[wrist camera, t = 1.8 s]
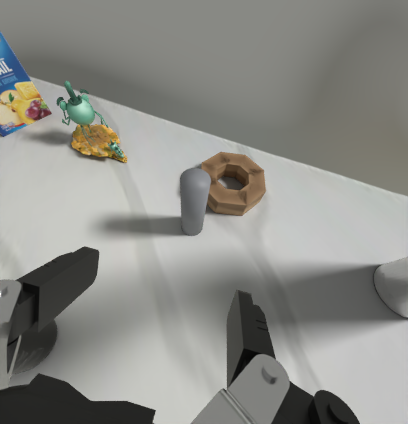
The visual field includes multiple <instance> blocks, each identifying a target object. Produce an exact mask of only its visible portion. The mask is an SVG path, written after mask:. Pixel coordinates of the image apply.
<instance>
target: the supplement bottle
mask: <svg viewBox="0 0 408 424" xmlns="http://www.w3.org/2000/svg"><path fill="white" fill-rule="evenodd" d="M56 337H57V325H56V323H55V321H54V319H53V320H52V321H51V322H50V323H48V324H47V325H46V326H45V327H44V328H43V329H42V330H41V331H40V332H38V333H37V332H34V331H31V330H28V329H27V330H26V331H25V332H24V333H22V334H21V341H20V345H19V349H18V352H17V356H16V360H15V363H14V367H13V370H12V374H11V375H13V374H17V373H20V372H24V371H27V370H29V369H31V368H33V367H35V366H36V365H38V364H39V363H40V362H42V361H43V360H44V359H45V358H46V357H47V355H48V354H49V353H50V351H51V350H52V348H53V346H54V344H55V341H56Z"/></svg>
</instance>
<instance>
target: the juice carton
mask: <svg viewBox="0 0 408 424" xmlns="http://www.w3.org/2000/svg"><path fill="white" fill-rule="evenodd" d="M50 114H52V113H51V112H50V110H49V108H48V107H47V105H46V104H45V102H44V100H43V99H42V97H41V96H40V94H39V92H38V91H37V89H36V88H35V86H34V84H33V83H32V81H31V80H30V78H29V76H28V75H27V73H26V72H25V70H24V68H23V67H22V65H21V64H20V62H19V60H18V59H17V57H16V56H15V54H14V52H13V51H12V49H11V48H10V46H9V45H8V43H7V41H6V40H5V38H4V36H3V35H2V33H1V32H0V135H2V136H3V137H4V136H6V135H9V134H11V133H13V132H15V131H17V130H19V129H21V128H23V127H25V126H27V125H29V124H31V123H33V122H36V121H38V120H40V119H42V118H44V117H46V116H48V115H50Z"/></svg>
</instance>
